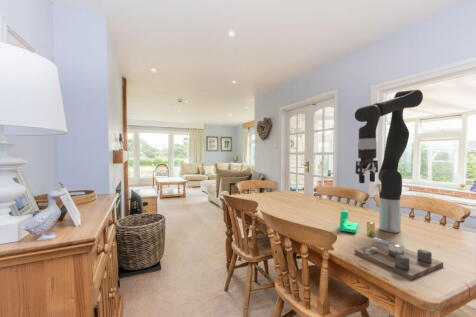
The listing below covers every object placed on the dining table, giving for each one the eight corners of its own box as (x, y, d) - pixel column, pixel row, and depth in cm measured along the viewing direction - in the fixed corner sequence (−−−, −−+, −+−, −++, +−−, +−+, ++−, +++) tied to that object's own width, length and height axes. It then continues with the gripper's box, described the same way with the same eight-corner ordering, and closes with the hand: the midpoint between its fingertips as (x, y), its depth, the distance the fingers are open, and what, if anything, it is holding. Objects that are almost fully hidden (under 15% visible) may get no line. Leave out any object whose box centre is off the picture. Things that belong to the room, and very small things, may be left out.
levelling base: (384, 244, 99) (384, 233, 99) (443, 266, 80) (443, 252, 80) (354, 253, 91) (354, 241, 91) (411, 280, 72) (411, 265, 72)
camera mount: (355, 234, 111) (355, 215, 111) (339, 232, 116) (339, 213, 115) (358, 228, 121) (358, 209, 121) (343, 225, 126) (343, 208, 125)
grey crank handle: (406, 256, 84) (406, 230, 84) (399, 259, 82) (400, 233, 82) (370, 243, 97) (370, 220, 96) (363, 245, 94) (363, 222, 94)
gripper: (367, 148, 109) (367, 180, 110) (350, 148, 102) (350, 182, 103) (383, 148, 103) (383, 182, 103) (366, 148, 96) (366, 184, 96)
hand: (367, 182), depth 103 cm, fingers open, 8 cm apart
